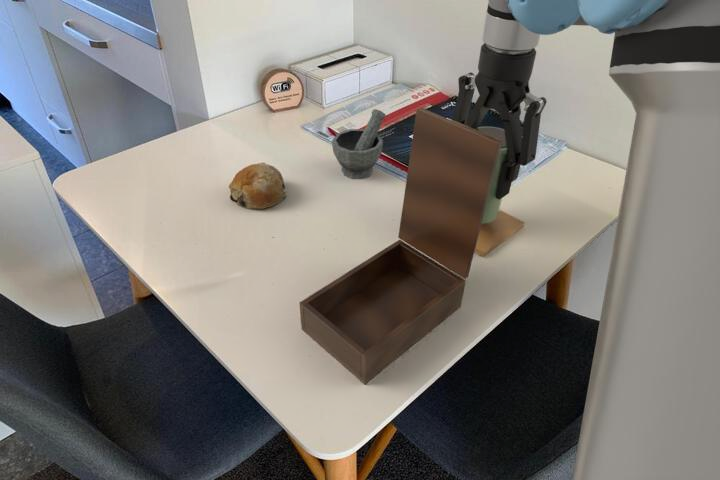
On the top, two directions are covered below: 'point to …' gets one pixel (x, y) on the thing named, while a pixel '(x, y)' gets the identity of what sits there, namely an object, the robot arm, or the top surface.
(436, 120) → the bin lid
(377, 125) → the mortar and pestle
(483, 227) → the cork mat
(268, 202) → the bread roll
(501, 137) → the green pot
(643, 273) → the robot arm
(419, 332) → the bin
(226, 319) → the top surface
